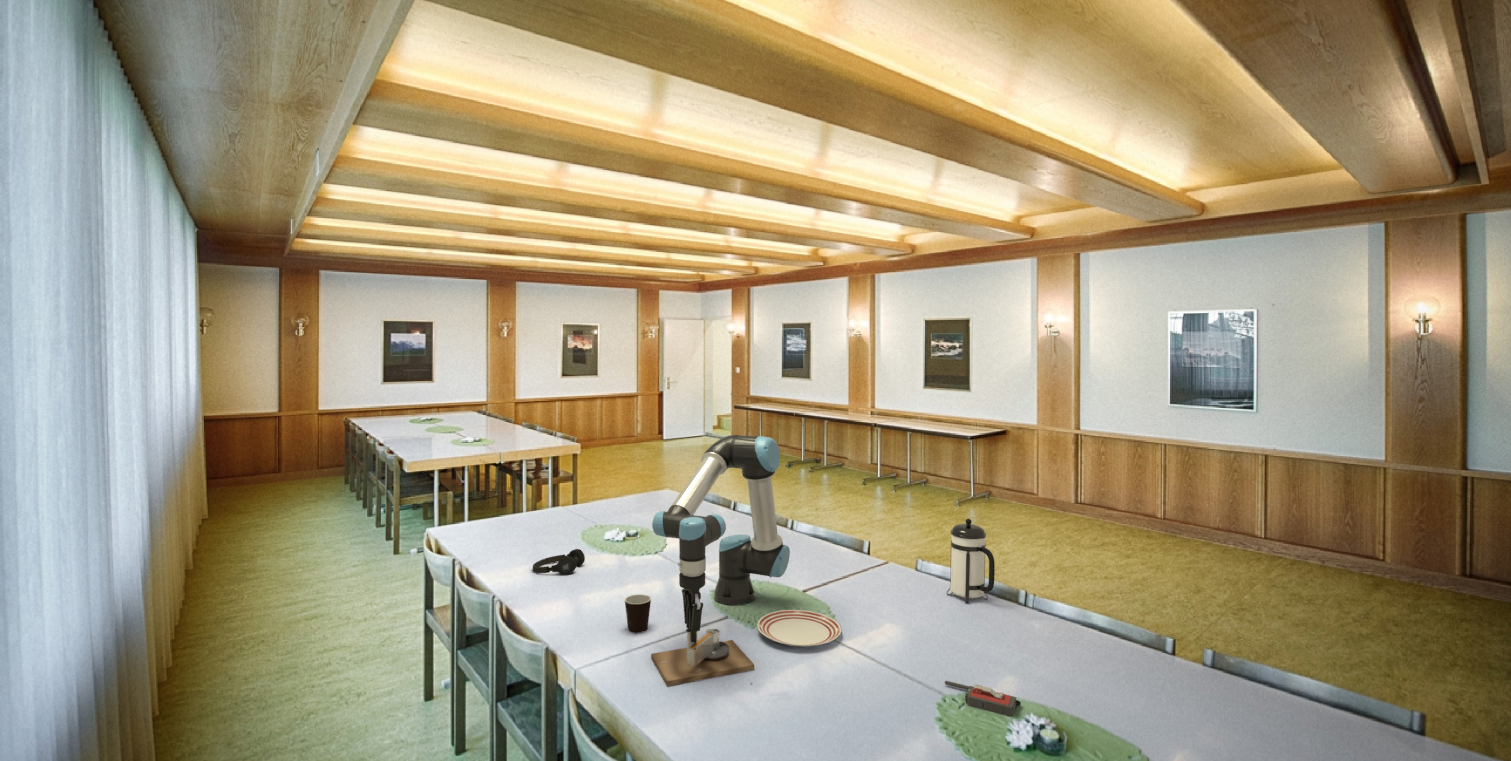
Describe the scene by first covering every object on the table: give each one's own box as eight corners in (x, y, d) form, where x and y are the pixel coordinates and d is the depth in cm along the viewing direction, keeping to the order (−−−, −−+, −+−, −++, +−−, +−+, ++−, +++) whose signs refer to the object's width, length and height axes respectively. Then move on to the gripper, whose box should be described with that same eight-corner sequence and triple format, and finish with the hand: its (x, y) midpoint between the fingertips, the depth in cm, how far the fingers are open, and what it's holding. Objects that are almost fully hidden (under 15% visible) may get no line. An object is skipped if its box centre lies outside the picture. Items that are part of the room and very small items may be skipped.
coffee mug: (645, 635, 214) (645, 605, 214) (620, 632, 216) (620, 602, 215) (657, 621, 225) (657, 592, 225) (634, 619, 227) (634, 590, 227)
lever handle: (706, 643, 204) (706, 622, 204) (734, 649, 200) (735, 627, 200) (675, 667, 188) (675, 645, 188) (706, 675, 184) (706, 651, 184)
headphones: (570, 558, 269) (524, 563, 272) (573, 575, 269) (527, 581, 272) (586, 546, 286) (543, 551, 289) (588, 563, 286) (545, 568, 289)
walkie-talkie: (1022, 704, 174) (945, 685, 184) (1022, 688, 174) (945, 669, 184) (1017, 720, 167) (937, 699, 176) (1017, 703, 166) (937, 683, 176)
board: (732, 644, 208) (732, 639, 208) (754, 669, 191) (754, 664, 191) (651, 658, 198) (651, 653, 198) (667, 686, 181) (667, 680, 181)
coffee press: (944, 601, 246) (945, 522, 244) (948, 587, 260) (950, 512, 259) (993, 608, 239) (995, 527, 238) (995, 594, 254) (997, 517, 253)
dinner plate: (848, 624, 224) (848, 615, 224) (831, 659, 198) (831, 648, 198) (771, 614, 233) (771, 604, 233) (745, 646, 207) (745, 635, 207)
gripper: (673, 566, 194) (673, 644, 196) (686, 581, 183) (686, 663, 185) (697, 563, 197) (697, 639, 199) (711, 577, 186) (711, 658, 187)
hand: (692, 651), depth 192 cm, fingers closed
